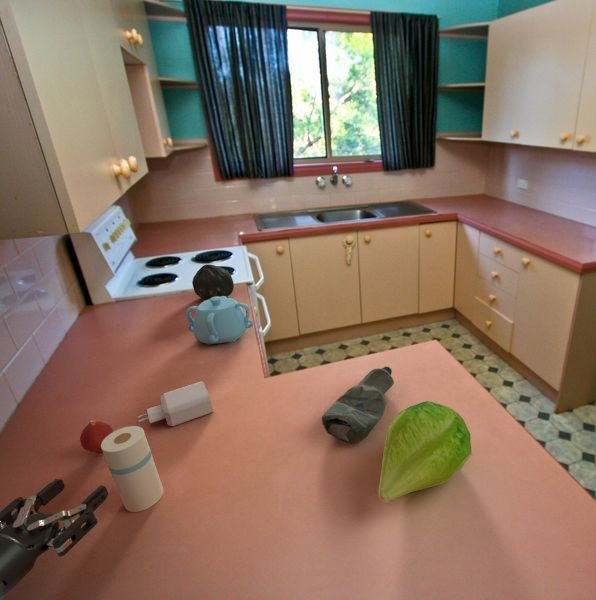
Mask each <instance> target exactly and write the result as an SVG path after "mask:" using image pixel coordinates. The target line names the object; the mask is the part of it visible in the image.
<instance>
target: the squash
mask: <svg viewBox="0 0 596 600" xmlns="http://www.w3.org/2000/svg"><path fill="white" fill-rule="evenodd" d="M191 282H192V283H191V285H192V287H193V291H194V293H195V295H196V296H197V297H198V298H200V300H202V301H203V302H204V301H206V300H209V299H210V298H212V297H221V296H226V297H228V296H230V295H232V293H233V291H234V288H235V284H234V280H233V277H232V275H231V274H230V272H229V271H228V270H227V269H226V268H223V267H220V266H217V265H214V264H209V263H207V264H204V265H202V266H201V267H200V268H199V269H198V270H197V272H195V275H194V276H193V277H192V281H191Z"/></svg>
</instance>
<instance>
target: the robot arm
mask: <svg viewBox="0 0 596 600" xmlns="http://www.w3.org/2000/svg"><path fill="white" fill-rule="evenodd" d="M65 487H66V485H65V483H64V482H63V479H61V478H55V479H54V480H53V481H51V482H49V483H48V484H47V485H46V486H44V487H43V488H42V489H41V490H39V492H37V493H36V494H35V495H34V494H33V495H30V496H29V497H28V498H27V497H26V498H24V497H23V496H19V497H16V498H15V499H14V500H13V501H11V502H10V503H9V504H8V505H7V506H5V507H4V508H3V509H2V510H1V511H0V600H2V599H4V598H5V596H7V595H8V594H9V593H10V592H11V590H13V589H14V588H15V587H16V586H17V585H18V584H19V583H20V582H21V581H22V580H23V579H24V578H25V577H26V576H27V575H28V574H29V573H30V572H31V571H32V570H33V568H34V565H35V564H36V561H37V559H38V558H39V557H40V556H41V555H42V554H44V553H45V552H47V551H49V550H50V551H53V552H55V553H56V554H57V556H58V557H63V556H65V555H67V554H68V552H70V551H71V550H72V548H74V547H75V546H76V545H77V544H78V543H79V542H80V541H81V540H82V539H83V538H84V537H85V536H86V535H87V534H88V533H90V531H91V530H92V529H93V528H95V526H96V525H97V524H98V522H99V521H98V519H97V517H96V515H95V513H94V512H95V511H96V510H97V509H98V508H99V507H100V506H101V505H102V504H103V503H104V502H105V501H106V500H107V499H108V495H109V492H108V488H107V487H106V486H105V485H99V486H98V487H97V488H95V490H93V491H92V492H91V494H90V495H88V496H87V497H86V498H85V499H84V500H83V501H82V502H81V504H80V505H78V506H76V507H74V508H72V509H69V510H65V509H64V510H62V511H59V512H57V513H54V514H53V513H44V512H42V506H43V507H46V506H47V505H48V504H49V503H51V502H52V500H54V499H55V498H56V497H57V496H58V495H59V494H60V493H62V492H63V491H64V490H65ZM15 510H16V511H15ZM14 511H15V512H14ZM13 512H14V513H13ZM12 513H13V514H12ZM78 515H79V516H78ZM76 516H78V517H76ZM74 517H76V518H74ZM71 518H74V519H71ZM60 522H62V523H63V527H61V528H60Z"/></svg>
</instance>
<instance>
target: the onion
mask: <svg viewBox="0 0 596 600" xmlns="http://www.w3.org/2000/svg"><path fill="white" fill-rule="evenodd" d="M114 431H115V430H114V429H113V428H112V426H111V425H110V424H109V423H107V422H104V421H97V420H96V421H95V420H90V421H89V422H88V424H87V425H86V426H85V427H84V428H83V429H82V431H81V433H80V436H79V442H80V445H81V447H82V448H83V449H84V450H85V451H87V452H89V453H103V451H102V449H101V443H102V441H103V440H104V439H105V438H106V437H107V436H108V435H109V434H111V433H113V432H114Z"/></svg>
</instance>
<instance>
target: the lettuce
mask: <svg viewBox="0 0 596 600" xmlns="http://www.w3.org/2000/svg"><path fill="white" fill-rule="evenodd" d="M382 454H383V455H382V460H381V461H382V462H381V472H380V478H379V484H378V499H379V500H380V501H381V502H382V503H384V504H387V503H391V502H393V501H394V500H397V499H399V498H401V497H403V496H405V495H408V494H409V493H412V492H417V491H420V490H425V489H428V488H432V487H436V486H439V485H442V484H445V483H446V482H448V481H449V480H450V479H451V478H452V477H453V476H454V475H456V473H457V472H459V471H460V470H461V469H462V468H463V467H464V466H465V464H466V463H467V462H468V461H469V459H471V457H472V456H473V450H472V441H471V433H470V430H469V428H468V426H467V424H466V422H465V420H464V418H463V417H462V416H461V415H460V413H458V412H457V411H455V410H454V409H453V408H451V407H449V406H446V405H443V404H440V403H437V402H433V401H431V400H426V401H422V402H420V403H417V404H413V405H411V406H408V407H406V408H404V409H403V410H401V411H400V412H399V413H398V414H397V415H396V416H395V417H394V418H393V420H392V422H391V423H390V425H389V426H388V427H387V431H386V437H385V442H384V448H383V453H382Z"/></svg>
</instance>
